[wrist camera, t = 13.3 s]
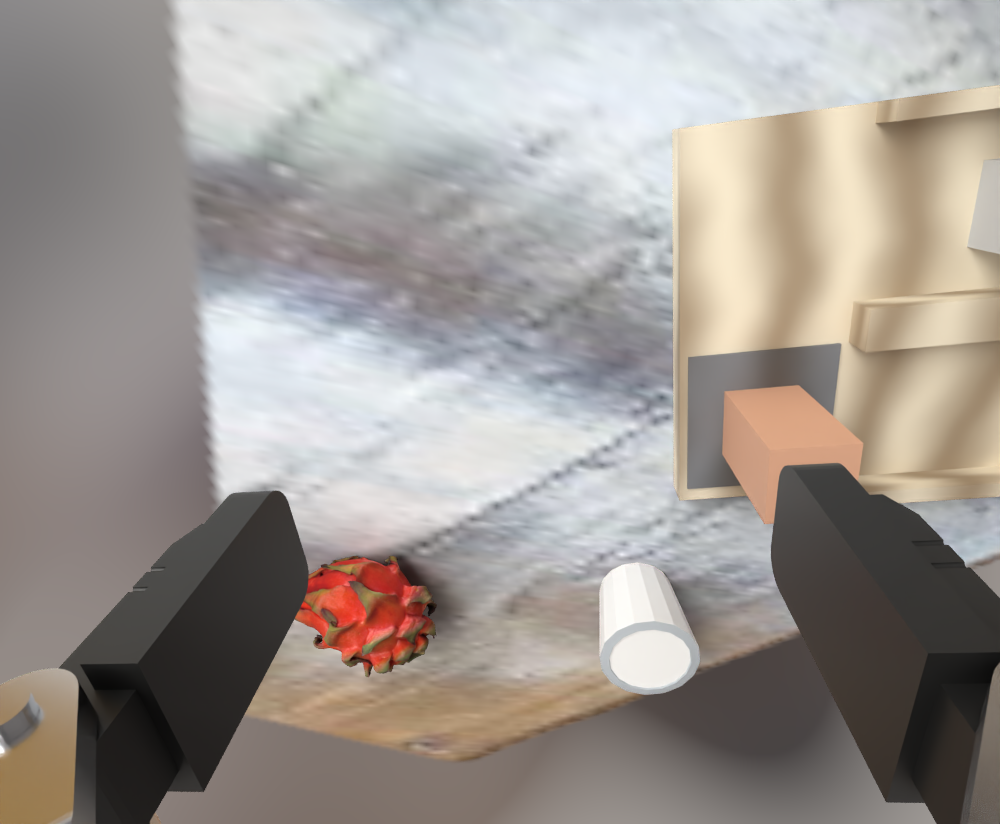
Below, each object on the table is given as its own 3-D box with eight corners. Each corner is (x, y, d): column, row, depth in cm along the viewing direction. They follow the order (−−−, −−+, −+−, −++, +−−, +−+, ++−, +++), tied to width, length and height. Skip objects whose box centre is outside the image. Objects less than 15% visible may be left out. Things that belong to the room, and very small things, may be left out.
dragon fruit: (455, 594, 50) (326, 545, 51) (458, 568, 42) (308, 512, 43) (415, 698, 46) (276, 643, 47) (412, 690, 38) (247, 624, 39)
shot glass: (689, 611, 47) (712, 683, 41) (607, 632, 48) (617, 705, 42) (665, 545, 45) (685, 611, 38) (579, 570, 46) (585, 637, 40)
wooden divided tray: (673, 485, 42) (689, 525, 38) (672, 129, 33) (693, 126, 28) (1032, 460, 40) (1095, 499, 35) (1141, 66, 30) (1246, 51, 26)
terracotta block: (722, 453, 39) (764, 524, 31) (724, 391, 37) (769, 450, 30) (792, 448, 38) (852, 518, 31) (798, 384, 36) (863, 443, 29)
